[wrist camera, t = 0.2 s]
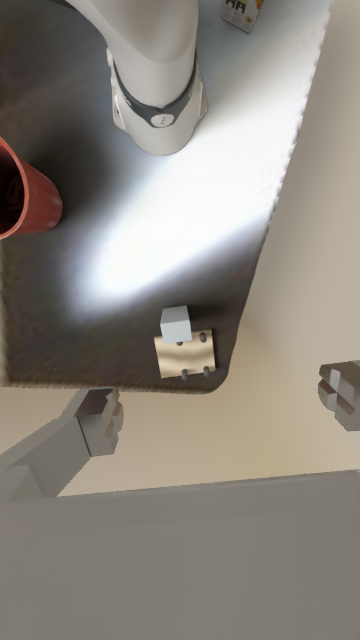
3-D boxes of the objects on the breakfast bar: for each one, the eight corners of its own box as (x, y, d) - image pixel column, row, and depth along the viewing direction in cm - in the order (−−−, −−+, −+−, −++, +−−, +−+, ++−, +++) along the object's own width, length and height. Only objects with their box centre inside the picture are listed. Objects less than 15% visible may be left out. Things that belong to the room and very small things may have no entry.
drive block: (163, 308, 57) (160, 324, 46) (186, 305, 57) (189, 320, 46) (165, 325, 59) (163, 343, 47) (188, 321, 59) (192, 340, 47)
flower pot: (17, 250, 52) (-49, 252, 37) (-20, 171, 47) (-112, 135, 32) (84, 232, 51) (45, 226, 36) (54, 149, 46) (-5, 101, 31)
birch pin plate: (154, 336, 60) (153, 343, 56) (210, 328, 59) (213, 334, 55) (161, 375, 63) (161, 384, 59) (214, 368, 63) (217, 376, 59)
